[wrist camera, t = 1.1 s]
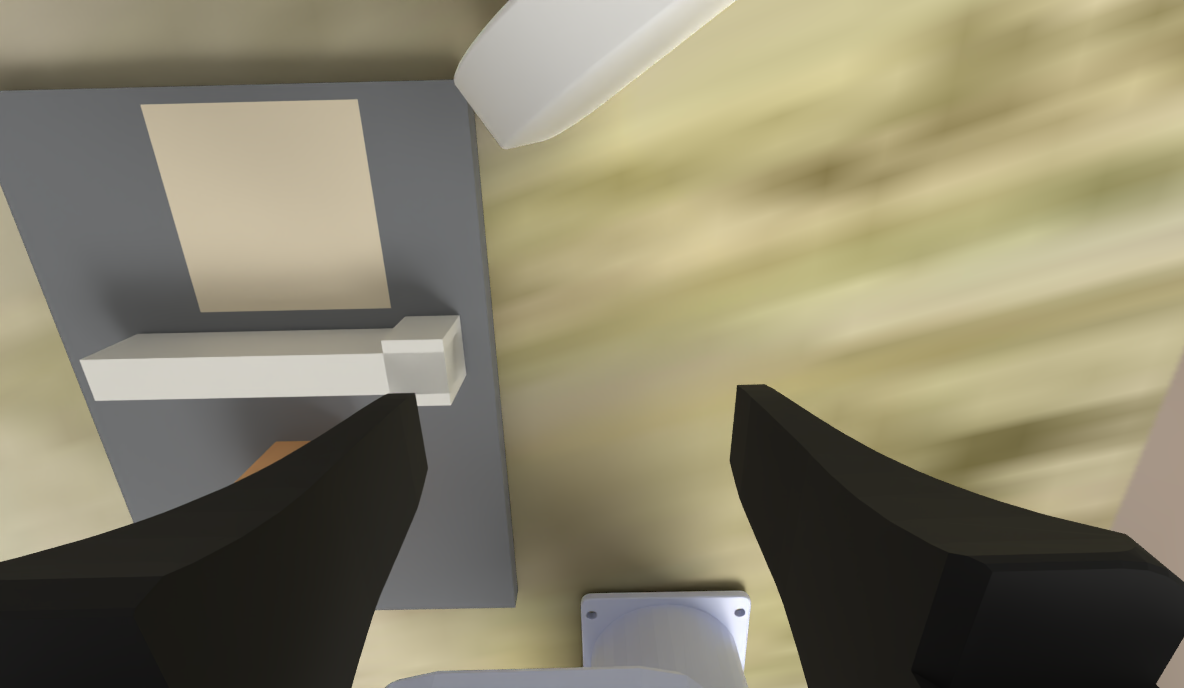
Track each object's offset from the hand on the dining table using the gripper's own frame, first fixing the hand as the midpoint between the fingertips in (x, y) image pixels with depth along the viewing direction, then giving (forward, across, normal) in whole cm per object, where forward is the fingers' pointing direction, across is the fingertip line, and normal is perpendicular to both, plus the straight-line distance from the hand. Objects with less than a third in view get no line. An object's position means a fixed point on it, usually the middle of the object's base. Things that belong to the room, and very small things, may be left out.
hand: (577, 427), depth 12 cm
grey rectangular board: (+9, +11, +4) cm, 15 cm away
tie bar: (+8, +10, +2) cm, 13 cm away
